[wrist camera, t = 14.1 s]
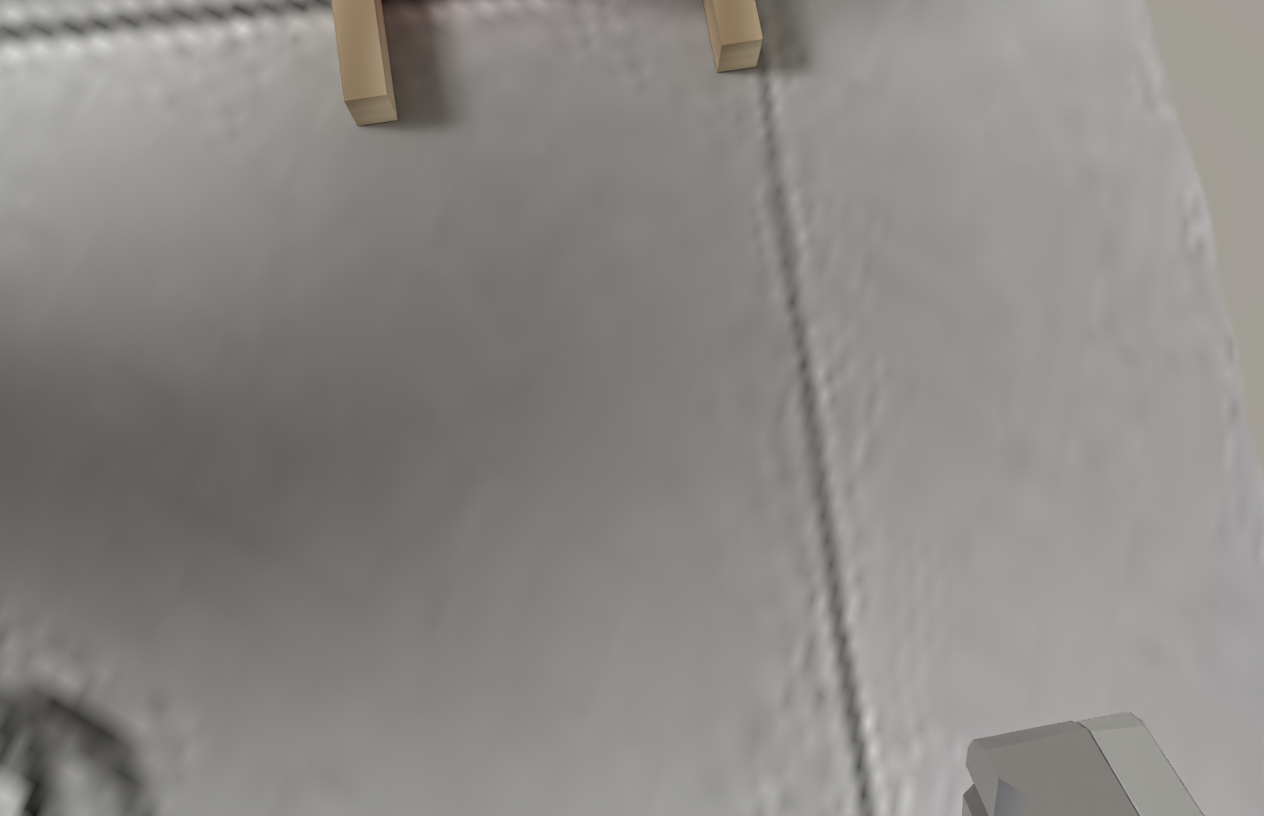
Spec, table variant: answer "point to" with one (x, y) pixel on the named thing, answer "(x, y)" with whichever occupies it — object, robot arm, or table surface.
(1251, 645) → the table surface
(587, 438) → the table surface
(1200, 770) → the table surface
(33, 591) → the table surface
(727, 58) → the bay
